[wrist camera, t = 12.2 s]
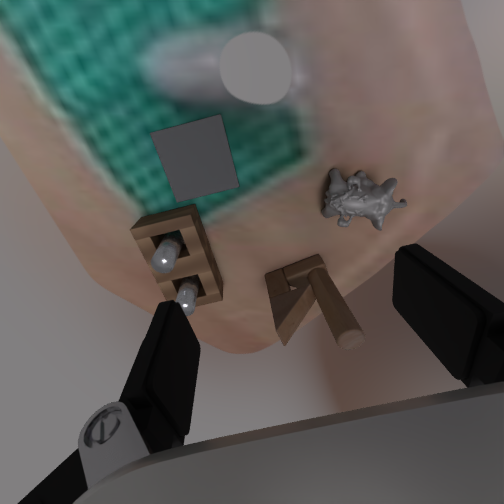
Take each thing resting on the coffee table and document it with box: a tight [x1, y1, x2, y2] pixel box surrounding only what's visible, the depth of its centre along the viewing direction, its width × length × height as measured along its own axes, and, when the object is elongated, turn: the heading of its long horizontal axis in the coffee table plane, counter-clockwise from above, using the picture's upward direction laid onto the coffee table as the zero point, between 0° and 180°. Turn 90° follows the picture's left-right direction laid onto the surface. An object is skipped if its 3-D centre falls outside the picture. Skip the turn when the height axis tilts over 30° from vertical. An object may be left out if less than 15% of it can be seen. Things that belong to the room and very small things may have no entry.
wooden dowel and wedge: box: [265, 254, 365, 350], centre depth 39 cm, size 4×11×18 cm, turn 113°
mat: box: [150, 114, 239, 202], centre depth 36 cm, size 10×10×1 cm
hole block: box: [130, 204, 223, 307], centre depth 41 cm, size 16×9×5 cm, turn 13°
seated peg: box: [175, 274, 200, 316], centre depth 41 cm, size 3×3×10 cm
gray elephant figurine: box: [322, 169, 407, 231], centre depth 37 cm, size 9×12×8 cm
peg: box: [151, 230, 184, 273], centre depth 37 cm, size 3×3×10 cm
